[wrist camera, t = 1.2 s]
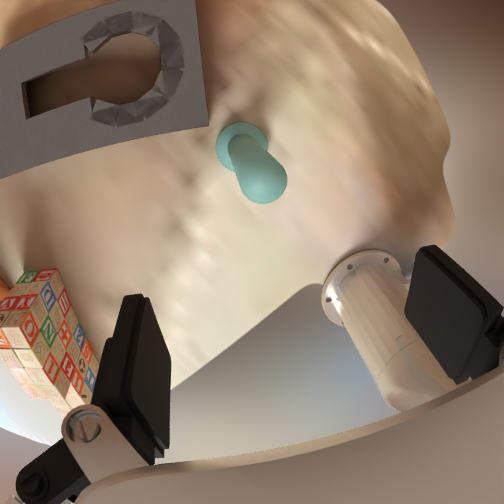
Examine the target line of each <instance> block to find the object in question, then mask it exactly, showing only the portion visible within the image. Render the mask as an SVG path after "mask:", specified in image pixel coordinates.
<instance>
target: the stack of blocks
mask: <svg viewBox="0 0 504 504" xmlns="http://www.w3.org/2000/svg"><path fill="white" fill-rule="evenodd" d="M0 357H1V359H2V360H3V362H4V363H5V365H6V366H7V367H8V369H9V370H10V372H11V373H12V374H13V376H14V377H15V378H16V380H17V381H18V382H19V383H20V385H21V386H22V387H23V389H24V390H25V391H26V393H27V394H28V395H29V396H30V398H35V399H50V400H51V402H52V403H53V404H54V406H55V407H56V408H57V409H58V410H59V412H60V413H61V414H62V415H63V417H64V418H65V416H66V415H67V413H69V412H70V411H71V410H72V409H73V408H75V407H77V406H80V405H85V404H91V399H92V394H93V390H94V386H95V381H96V377H97V373H98V369H99V363H98V361H97V359H96V357H95V355H94V353H93V351H92V349H91V347H90V345H89V343H88V341H87V338H85V335H84V333H83V331H82V329H81V327H80V324H79V323H78V320H77V318H76V316H75V313H74V311H73V309H72V307H71V303H70V301H69V298H68V296H67V293H66V291H65V288H64V285H63V282H62V280H61V277H60V274H59V272H58V269H49V270H41V271H35V272H27V273H24V274H23V275H22V276H21V277H20V278H19V280H18V281H17V282H16V284H15V285H14V286H13V288H12V289H11V290H10V291H9V293H8V294H7V295H6V297H5V298H4V299H3V300H2V301H1V303H0Z"/></svg>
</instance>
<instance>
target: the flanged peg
mask: <svg viewBox="0 0 504 504" xmlns="http://www.w3.org/2000/svg"><path fill="white" fill-rule="evenodd" d="M267 149H268V148H267V140H266V138H265V136H264V134H263V133H262V131H261V130H260V129H258V128H257V127H256V126H254V125H252V124H249V123H246V122H237V123H233V124H231V125H229V126H227V127H226V128H224V129H223V130H222V131H221V133H220V134H219V136H218V139H217V142H216V151H217V155H218V158H219V160H220V162H221V163H222V164H223V165H224V166H225V167H226V168H228V169H229V170H231V171H234V172H235V173H236V176H237V179H238V182H239V184H240V187H241V190H242V192H243V194H244V195H245V196H246V197H247V198H248V199H249V200H251V201H253V202H255V203H260V204H266V203H270V202H273V201H275V200H276V199H278V198H279V197H280V196H281V195H282V194H283V192H284V191H285V188H286V185H287V174H286V171H285V169H284V168H283V166H282V165H281V164H280V163H279V162H278V161H277V160H276V159H275V158H274V157H273V156H272V155H270V154H269V153H268V152H267Z"/></svg>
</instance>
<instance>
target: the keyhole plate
mask: <svg viewBox="0 0 504 504" xmlns="http://www.w3.org/2000/svg"><path fill="white" fill-rule="evenodd" d="M131 32H133V33H136V34H140V35H144V36H148V37H150V38H151V40H152V41H153V42H154V43H155V44H156V45H157V47H158V48H159V49H160V58H161V66H162V69H161V71H160V73H159V75H158V78H157V80H156V82H155V85H154V87H153V88H152V89H151V90H149V91H148V92H147V93H146V94H145V95H143V96H142V97H141V98H140V99H139V100H138V101H134V102H130V103H126V104H122V105H118V104H115V103H112V102H108V101H105V100H101V99H96V102H95V104H94V97H89V98H86V99H82V100H79V101H76V102H73V103H70V104H67V105H64V106H61V107H58V108H55V109H53V110H50V111H47V112H45V113H42V114H39V115H37V116H34V117H32V118H30V112H29V105H28V97H27V89H26V83H27V82H29V81H31V80H34V79H36V78H38V77H41V76H43V75H46V74H48V73H51V72H53V71H56V70H58V69H61V68H64V67H66V66H69V65H72V64H75V63H78V62H81V61H84V60H87V59H89V55H88V49H89V51H90V52H92V53H95V52H96V51H97V50H99V49H100V48H101V47H102V46H103V45H104V44H105V43H106V42H108V41H109V40H110V39H111V38H112V37H116V36H119V35H123V34H127V33H131ZM206 126H209V119H208V111H207V102H206V94H205V85H204V77H203V68H202V59H201V50H200V40H199V31H198V21H197V11H196V0H119V1H116V2H112V3H109V4H105V5H102V6H99V7H96V8H93V9H90V10H87V11H84V12H81V13H78V14H76V15H73V16H70V17H68V18H65V19H63V20H60V21H58V22H55V23H53V24H51V25H48V26H46V27H44V28H41V29H39V30H37V31H35V32H33V33H31V34H29V35H27V36H24V37H22V38H20V39H19V40H17V41H15V42H13V43H11V44H9V45H7V46H5V47H3V48H2V49H0V179H2V178H4V177H7V176H10V175H12V174H15V173H18V172H21V171H24V170H26V169H29V168H32V167H35V166H38V165H41V164H44V163H47V162H51V161H54V160H57V159H60V158H64V157H67V156H71V155H74V154H78V153H81V152H85V151H89V150H92V149H96V148H100V147H104V146H108V145H112V144H116V143H121V142H125V141H129V140H134V139H139V138H143V137H148V136H153V135H159V134H164V133H169V132H175V131H181V130H187V129H193V128H199V127H206Z"/></svg>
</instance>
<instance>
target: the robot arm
mask: <svg viewBox="0 0 504 504" xmlns="http://www.w3.org/2000/svg"><path fill="white" fill-rule="evenodd" d="M321 301H322V306H323V309H324V311H325V313H326V315H327V317H328V318H329V319H330V320H331V321H333V322H334V323H336V324H338V325H341V326H345V327H346V329H347V331H348V333H349V334H350V336H351V338H352V340H353V342H354V343H355V346H356V348H357V349H358V351H359V353H360V355H361V357H362V359H363V361H364V363H365V365H366V367H367V368H368V370H369V372H370V374H371V376H372V378H373V380H374V382H375V384H376V386H377V388H378V390H379V392H380V394H381V395H382V397H383V399H384V400H385V402H386V403H387V404H388V405H389V406H391V407H392V408H393V409H395V410H397V411H399V412H401V413H399V414H396V415H394V416H391V417H388V418H385V419H383V420H379V421H377V422H374V423H371V424H368V425H365V426H362V427H358V428H355V429H352V430H349V431H345V432H342V433H338V434H335V435H331V436H328V437H324V438H320V439H316V440H312V441H308V442H304V443H300V444H296V445H291V446H286V447H281V448H276V449H271V450H265V451H260V452H254V453H247V454H242V455H236V456H228V457H221V458H212V459H203V460H193V461H184V462H175V463H165V464H158V465H154V464H155V458H164V449H169V444H170V385H171V357H170V354H169V351H168V349H167V346H166V343H165V341H164V338H163V335H162V333H161V330H160V327H159V325H158V322H157V319H156V316H155V313H154V311H153V308H152V305H151V302H150V299H149V298H148V297H145V298H144V297H143V295H142V294H134V295H126V296H124V298H123V301H122V305H121V308H120V312H119V315H118V319H117V322H116V326H115V330H114V333H113V337H111V338H108V339H107V340H106V342H105V346H104V349H103V353H102V357H101V361H100V365H99V369H98V373H97V377H96V381H95V386H94V390H93V394H92V399H91V404H85V405H80V406H77V407H75V408H73V409H72V410H71V411H70V412H69V413H67V415H66V416H65V418H64V419H63V423H62V426H61V433H62V436H63V438H62V439H61V440H59V441H58V442H57V443H55V444H54V445H53V446H51V447H50V448H49V449H48V450H46V451H45V452H44V453H42V454H41V455H40V456H38V457H37V458H36V459H34V460H33V461H32V462H30V463H29V464H28V465H26V466H25V467H24V468H23V469H22V470H21V471H20V472H19V474H18V476H17V479H16V491H17V494H16V496H15V497H14V496H13V495H11V496H10V497H9V498H8V500H7V501H6V503H5V504H504V317H502V316H501V313H502V311H503V308H504V307H503V306H502V305H501V304H500V303H499V302H498V301H497V300H496V299H495V298H494V297H493V296H492V295H491V294H489V292H487V291H486V290H485V289H484V288H483V287H482V286H481V285H480V284H479V283H478V282H477V281H476V280H475V279H474V278H473V277H472V276H471V275H469V274H468V273H467V272H466V271H465V270H464V269H463V268H462V267H460V266H459V265H458V264H457V263H456V262H455V261H454V260H453V259H451V258H450V257H449V256H448V255H447V254H446V253H444V252H443V251H442V250H441V249H440V248H439V247H437V246H436V245H429V246H424V247H421V248H420V249H419V252H417V254H416V257H415V262H414V268H413V272H412V277H411V279H409V280H407V279H406V278H404V277H403V275H402V269H401V267H400V265H399V263H398V262H397V261H396V259H395V258H394V257H392V256H391V255H390V254H388V253H387V252H385V251H381V250H365V251H361V252H358V253H355V254H353V255H351V256H350V257H348V258H346V259H345V260H344V261H342V262H341V263H340V264H339V265H338V266H337V267H336V268H335V269H334V270H333V271H332V272H331V274H330V275H329V276H328V278H327V280H326V282H325V284H324V287H323V290H322V297H321Z"/></svg>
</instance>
